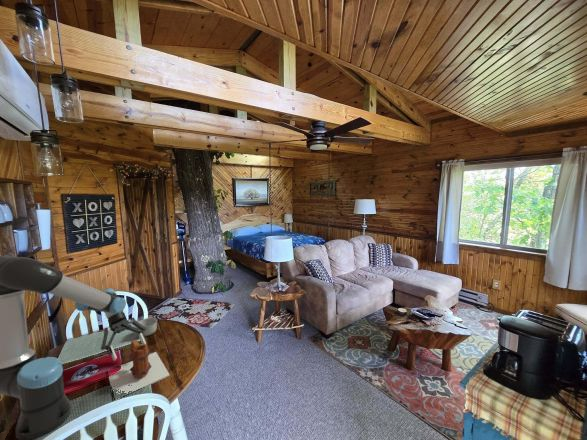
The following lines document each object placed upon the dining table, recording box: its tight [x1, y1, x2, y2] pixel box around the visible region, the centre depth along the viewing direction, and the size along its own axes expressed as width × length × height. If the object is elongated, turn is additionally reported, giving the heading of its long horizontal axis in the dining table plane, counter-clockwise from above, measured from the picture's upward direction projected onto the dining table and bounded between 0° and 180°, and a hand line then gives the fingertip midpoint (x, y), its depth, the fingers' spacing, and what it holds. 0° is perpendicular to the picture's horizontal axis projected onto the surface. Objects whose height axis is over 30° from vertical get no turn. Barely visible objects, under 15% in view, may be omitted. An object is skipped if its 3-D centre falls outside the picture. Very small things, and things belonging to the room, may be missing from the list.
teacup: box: [131, 317, 158, 337], centre depth 153 cm, size 14×11×8 cm
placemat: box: [108, 351, 171, 402], centre depth 120 cm, size 22×24×1 cm
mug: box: [129, 339, 152, 378], centre depth 119 cm, size 15×8×15 cm, turn 50°
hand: (130, 351), depth 123 cm, fingers open, 13 cm apart
